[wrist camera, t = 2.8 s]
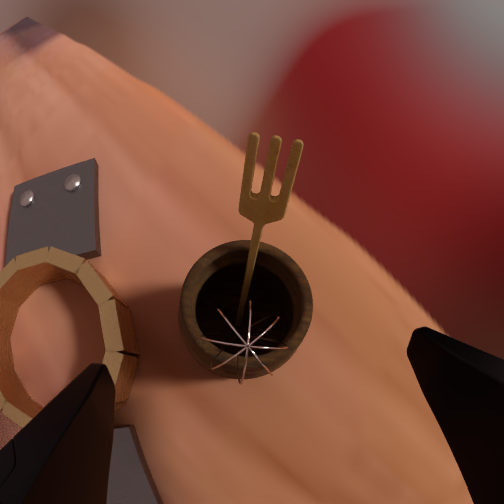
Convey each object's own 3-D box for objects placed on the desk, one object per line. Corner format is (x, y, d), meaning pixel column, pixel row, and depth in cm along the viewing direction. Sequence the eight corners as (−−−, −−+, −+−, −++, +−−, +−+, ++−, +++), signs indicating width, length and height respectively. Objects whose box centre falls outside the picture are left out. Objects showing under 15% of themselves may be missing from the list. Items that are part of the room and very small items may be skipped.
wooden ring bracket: (199, 528, 12) (196, 551, 9) (56, 527, 10) (37, 541, 7) (115, 161, 21) (105, 135, 19) (7, 197, 19) (-9, 178, 16)
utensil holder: (181, 371, 16) (105, 363, 5) (196, 270, 18) (170, 123, 8) (282, 383, 16) (393, 390, 5) (289, 282, 19) (375, 155, 8)
